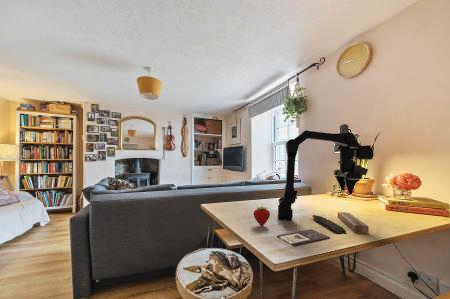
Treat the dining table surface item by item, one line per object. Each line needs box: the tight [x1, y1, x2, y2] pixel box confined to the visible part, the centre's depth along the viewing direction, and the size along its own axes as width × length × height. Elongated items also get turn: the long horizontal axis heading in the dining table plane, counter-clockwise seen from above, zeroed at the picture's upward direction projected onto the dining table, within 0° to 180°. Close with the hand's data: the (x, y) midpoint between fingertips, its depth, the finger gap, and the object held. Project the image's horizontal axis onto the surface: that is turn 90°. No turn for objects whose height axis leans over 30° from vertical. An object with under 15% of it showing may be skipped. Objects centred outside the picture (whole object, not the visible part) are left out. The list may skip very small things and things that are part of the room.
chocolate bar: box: [276, 228, 331, 247], centre depth 80 cm, size 9×1×18 cm
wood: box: [311, 214, 347, 235], centre depth 95 cm, size 22×7×3 cm, turn 6°
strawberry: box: [253, 203, 271, 227], centre depth 92 cm, size 6×8×10 cm
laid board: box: [337, 211, 369, 234], centre depth 95 cm, size 6×20×3 cm, turn 168°
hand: (346, 192), depth 98 cm, fingers open, 9 cm apart
